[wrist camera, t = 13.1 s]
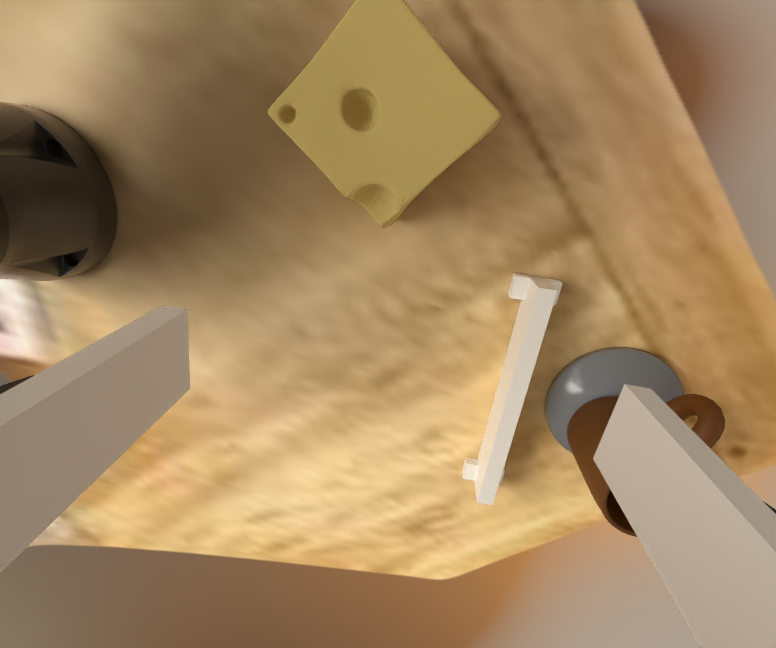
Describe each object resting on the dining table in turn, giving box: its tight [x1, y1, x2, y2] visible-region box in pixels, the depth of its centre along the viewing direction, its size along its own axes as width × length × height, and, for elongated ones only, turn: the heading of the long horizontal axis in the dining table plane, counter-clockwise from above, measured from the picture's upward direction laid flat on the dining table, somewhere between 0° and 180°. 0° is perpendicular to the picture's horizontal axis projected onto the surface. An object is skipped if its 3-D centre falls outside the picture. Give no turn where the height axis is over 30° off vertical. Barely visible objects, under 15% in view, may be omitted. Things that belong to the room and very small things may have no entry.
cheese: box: [268, 0, 501, 228], centre depth 28 cm, size 10×11×10 cm
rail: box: [462, 273, 563, 505], centre depth 38 cm, size 4×22×4 cm, turn 172°
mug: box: [567, 394, 725, 537], centre depth 34 cm, size 12×8×9 cm, turn 154°
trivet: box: [545, 347, 684, 452], centre depth 39 cm, size 12×12×1 cm
